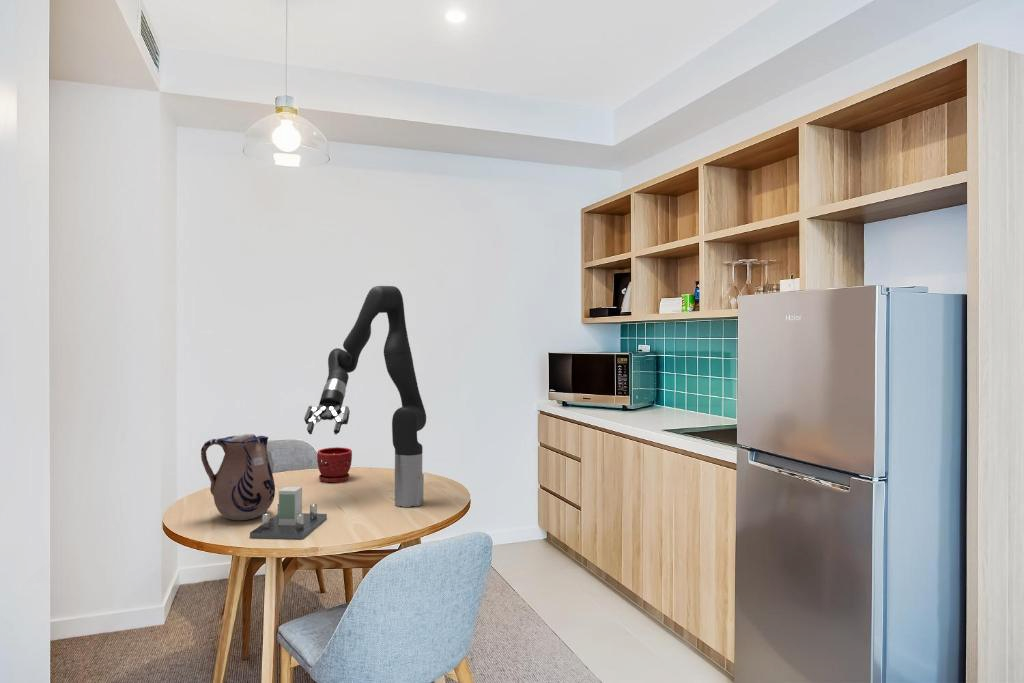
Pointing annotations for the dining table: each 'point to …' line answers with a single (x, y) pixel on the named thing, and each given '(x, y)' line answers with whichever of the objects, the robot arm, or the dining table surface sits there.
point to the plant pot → (334, 464)
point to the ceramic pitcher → (241, 477)
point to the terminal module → (290, 505)
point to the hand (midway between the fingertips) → (322, 432)
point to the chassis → (299, 531)
